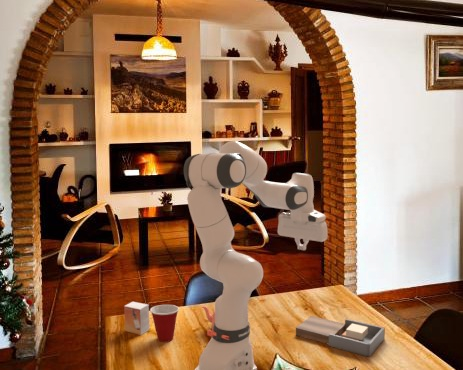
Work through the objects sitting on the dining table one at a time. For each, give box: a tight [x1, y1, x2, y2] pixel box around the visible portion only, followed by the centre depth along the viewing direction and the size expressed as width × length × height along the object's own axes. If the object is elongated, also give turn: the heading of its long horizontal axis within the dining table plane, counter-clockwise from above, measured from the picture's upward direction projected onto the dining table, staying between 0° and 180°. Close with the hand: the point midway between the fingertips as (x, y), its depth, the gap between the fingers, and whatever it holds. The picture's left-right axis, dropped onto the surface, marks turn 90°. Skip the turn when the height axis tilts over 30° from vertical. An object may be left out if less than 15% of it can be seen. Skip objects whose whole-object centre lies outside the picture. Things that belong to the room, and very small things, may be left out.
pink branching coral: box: [200, 305, 215, 331], centre depth 193 cm, size 12×18×10 cm, turn 81°
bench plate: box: [295, 315, 346, 345], centre depth 188 cm, size 13×14×3 cm
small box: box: [123, 301, 151, 336], centre depth 193 cm, size 8×6×10 cm
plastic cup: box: [149, 304, 180, 343], centre depth 186 cm, size 11×11×12 cm
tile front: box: [342, 331, 364, 341], centre depth 181 cm, size 6×6×2 cm
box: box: [328, 318, 386, 358], centre depth 180 cm, size 16×15×4 cm
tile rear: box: [346, 323, 368, 340], centre depth 180 cm, size 6×6×2 cm
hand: (301, 249), depth 193 cm, fingers closed
